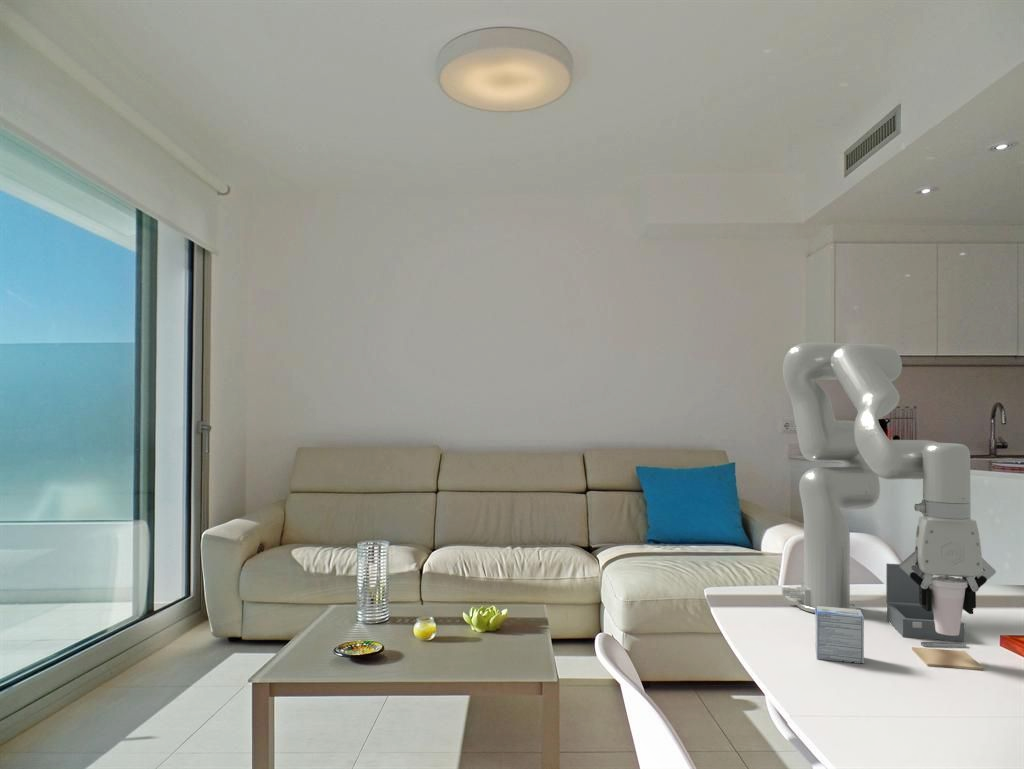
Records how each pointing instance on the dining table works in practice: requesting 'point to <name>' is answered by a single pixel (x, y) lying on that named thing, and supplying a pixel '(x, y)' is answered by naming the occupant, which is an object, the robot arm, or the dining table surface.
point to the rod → (943, 644)
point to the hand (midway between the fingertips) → (947, 609)
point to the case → (910, 607)
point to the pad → (947, 658)
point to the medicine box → (839, 634)
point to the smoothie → (947, 603)
